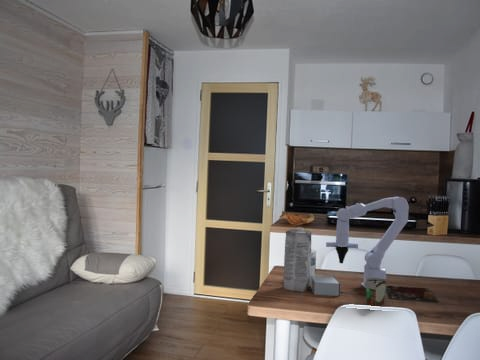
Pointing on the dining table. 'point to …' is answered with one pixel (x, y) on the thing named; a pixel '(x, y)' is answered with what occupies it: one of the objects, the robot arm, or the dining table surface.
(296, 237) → the juice carton
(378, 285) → the food container
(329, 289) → the block
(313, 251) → the syrup box
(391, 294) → the dining table surface
